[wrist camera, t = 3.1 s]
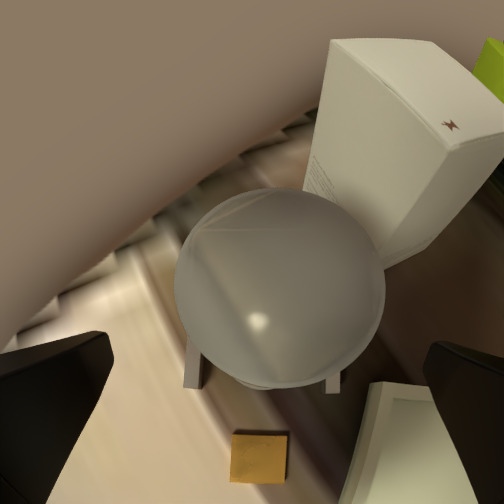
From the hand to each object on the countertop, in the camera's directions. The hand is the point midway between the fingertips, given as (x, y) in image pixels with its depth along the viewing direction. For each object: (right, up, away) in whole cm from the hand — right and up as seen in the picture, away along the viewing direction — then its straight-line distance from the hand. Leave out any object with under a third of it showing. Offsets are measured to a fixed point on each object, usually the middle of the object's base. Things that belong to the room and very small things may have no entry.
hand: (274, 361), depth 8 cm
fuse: (0, -3, +10) cm, 10 cm away
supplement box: (+7, +5, +14) cm, 16 cm away
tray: (+11, -12, +5) cm, 17 cm away
